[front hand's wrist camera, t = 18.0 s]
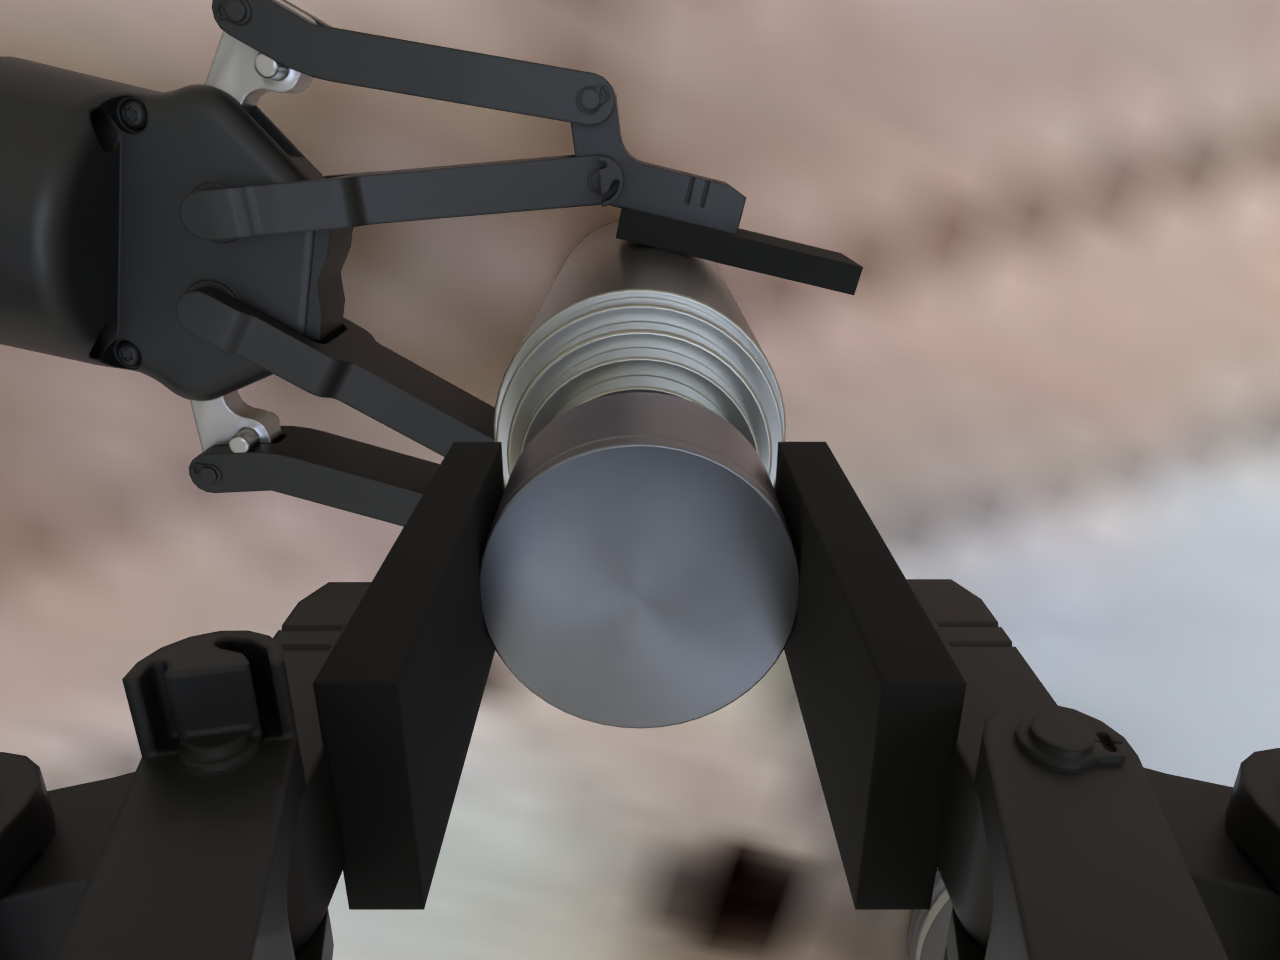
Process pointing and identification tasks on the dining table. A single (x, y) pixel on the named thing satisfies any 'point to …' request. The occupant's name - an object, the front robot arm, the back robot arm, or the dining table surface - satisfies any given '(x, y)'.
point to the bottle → (638, 345)
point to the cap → (639, 564)
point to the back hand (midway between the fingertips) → (809, 387)
